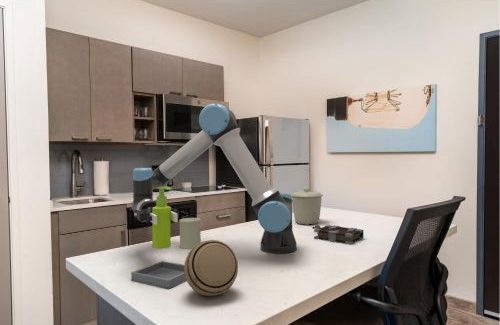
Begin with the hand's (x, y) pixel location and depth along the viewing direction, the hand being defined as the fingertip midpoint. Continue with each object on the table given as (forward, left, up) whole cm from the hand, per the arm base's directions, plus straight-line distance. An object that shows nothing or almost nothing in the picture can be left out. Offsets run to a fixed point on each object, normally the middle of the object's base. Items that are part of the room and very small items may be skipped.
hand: (166, 219), depth 111 cm
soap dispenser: (+4, -3, -10) cm, 11 cm away
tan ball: (-20, +4, -19) cm, 28 cm away
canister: (-9, -105, -19) cm, 107 cm away
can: (+19, -35, -19) cm, 44 cm away
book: (-32, -77, -19) cm, 85 cm away
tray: (+1, 0, -19) cm, 19 cm away
